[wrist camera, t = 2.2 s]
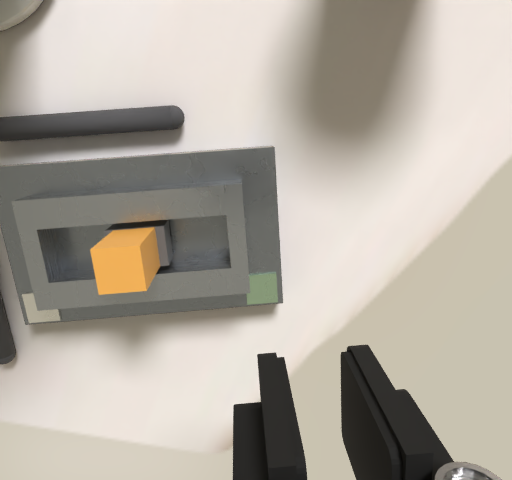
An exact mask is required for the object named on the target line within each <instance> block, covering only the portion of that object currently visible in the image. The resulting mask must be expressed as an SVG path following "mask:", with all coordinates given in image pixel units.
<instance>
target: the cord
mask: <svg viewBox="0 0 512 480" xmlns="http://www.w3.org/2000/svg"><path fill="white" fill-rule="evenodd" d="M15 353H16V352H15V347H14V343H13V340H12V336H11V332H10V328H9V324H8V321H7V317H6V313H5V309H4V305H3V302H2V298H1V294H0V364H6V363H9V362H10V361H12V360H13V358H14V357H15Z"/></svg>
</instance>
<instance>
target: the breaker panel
mask: <svg viewBox="0 0 512 480" xmlns="http://www.w3.org/2000/svg"><path fill="white" fill-rule="evenodd" d="M161 220H169V228H170V235H171V243H172V250H173V258H172V260H171V262H170V264H169V265H168V266H160V268H159V269H158V271H157V273H156V275H155V277H154V278H153V280H152V282H151V284H150V286H149V288H148V289H147V291H140V292H128V293H115V294H103V295H99V293H98V288H97V283H96V278H95V272H94V267H93V262H92V257H91V251H90V249H91V248H92V247H94V246H95V245H96V244H97V243H99V242H100V241H101V240H102V239H103V238H105V233H104V231H105V230H106V229H108V228H109V227H110V226H111V225H113V224H123V223H136V222H149V221H161ZM0 225H1V229H2V233H3V237H4V241H5V245H6V249H7V253H8V257H9V261H10V265H11V269H12V273H13V277H14V281H15V285H16V289H17V293H18V297H19V301H20V305H21V309H22V313H23V317H24V321H25V325H28V324H40V323H52V322H64V321H76V320H88V319H99V318H111V317H123V316H135V315H147V314H159V313H171V312H183V311H195V310H207V309H218V308H230V307H242V306H254V305H266V304H278V303H283V294H282V276H281V258H280V240H279V222H278V204H277V185H276V167H275V149H274V146H262V147H248V148H234V149H221V150H207V151H193V152H180V153H166V154H152V155H138V156H125V157H111V158H97V159H84V160H70V161H56V162H43V163H29V164H15V165H2V166H0Z"/></svg>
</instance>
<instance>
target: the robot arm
mask: <svg viewBox="0 0 512 480" xmlns="http://www.w3.org/2000/svg"><path fill="white" fill-rule="evenodd" d="M43 1H44V0H0V31H2V30H6V29H8V28H10V27H12V26H14V25H16V24H19V23H21V22H22V21H23V20H25V19H26V18H27V17H28V16H30V15H31V14H32V13H33V12H35V11H36V9H37V8H38V7H39V6H40V4H41V3H42V2H43ZM257 356H258V369H259V382H260V395H261V402H257V403H246V404H235V405H234V416H233V480H307V472H306V463H305V456H304V450H303V446H302V441H301V436H300V432H299V426H298V422H297V417H296V412H295V408H294V403H293V398H292V393H291V389H290V384H289V379H288V374H287V369H286V364H285V360H284V357H280V358H277V355H276V353H266V354H257ZM341 413H342V414H341V415H342V417H341V418H342V437H343V441H344V445H345V448H346V451H347V454H348V457H349V460H350V462H351V465H352V468H353V471H354V474H355V477H356V480H502V479H501V478H500V477H498V476H497V475H495V474H494V473H492V472H491V471H489V470H487V469H485V468H483V467H481V466H478V465H475V464H471V463H467V462H454V461H453V460H452V458H451V457H450V455H449V453H448V452H447V450H446V449H445V447H444V446H443V444H442V443H441V441H440V440H439V438H438V437H437V435H436V434H435V432H434V430H433V429H432V427H431V426H430V424H429V423H428V421H427V420H426V418H425V417H424V415H423V414H422V412H421V411H420V409H419V408H418V406H417V404H416V403H415V402H414V400H413V398H412V397H411V395H410V394H409V393H408V392H407V391H406V390H405V389H401V390H395V388H394V387H393V385H392V383H391V382H390V380H389V378H388V377H387V375H386V373H385V372H384V370H383V369H382V367H381V365H380V364H379V362H378V360H377V359H376V357H375V356H374V354H373V352H372V351H371V349H370V347H369V346H368V345H358V346H348V348H347V352H341Z"/></svg>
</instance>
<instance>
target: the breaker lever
mask: <svg viewBox="0 0 512 480" xmlns="http://www.w3.org/2000/svg"><path fill="white" fill-rule="evenodd" d="M104 233H105V238H103V239H102V240H101V241H100V242H99V243H97V244H96V245H95V246H94V247H92V248H91V249H90V251H91V257H92V262H93V267H94V272H95V278H96V283H97V288H98V293H99V295H103V294H115V293H128V292H140V291H147V289H148V288H149V286H150V284H151V282H152V280H153V278H154V277H155V275H156V273H157V271H158V269H159V268H160V266H168V265H169V264H170V262H171V260H172V258H173V250H172V243H171V235H170V228H169V220H161V221H149V222H136V223H123V224H113V225H111V226H110V227H109V228H108V229H106V230H105V231H104Z"/></svg>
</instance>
